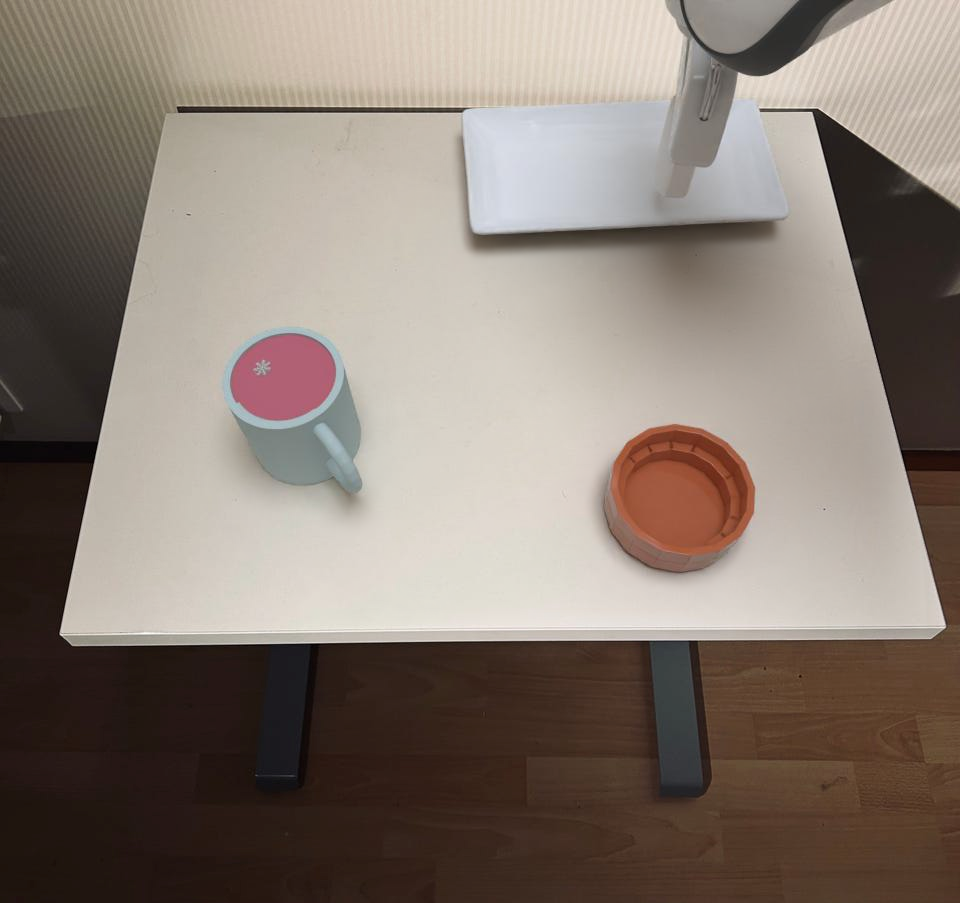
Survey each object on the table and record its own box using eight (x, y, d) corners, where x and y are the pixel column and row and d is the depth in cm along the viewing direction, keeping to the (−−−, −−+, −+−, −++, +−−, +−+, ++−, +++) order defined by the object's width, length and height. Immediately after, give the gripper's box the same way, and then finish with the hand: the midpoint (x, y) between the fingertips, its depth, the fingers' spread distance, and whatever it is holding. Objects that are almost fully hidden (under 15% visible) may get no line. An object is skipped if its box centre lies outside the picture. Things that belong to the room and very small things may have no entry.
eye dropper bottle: (703, 168, 77) (739, 57, 66) (680, 206, 75) (714, 97, 64) (661, 152, 78) (690, 40, 67) (638, 189, 76) (664, 79, 65)
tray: (782, 240, 80) (795, 215, 77) (469, 255, 79) (469, 230, 76) (746, 121, 88) (756, 94, 84) (460, 133, 87) (460, 106, 83)
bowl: (741, 462, 69) (757, 438, 65) (734, 585, 64) (751, 567, 60) (612, 439, 70) (620, 414, 66) (595, 559, 65) (602, 539, 61)
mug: (235, 428, 70) (200, 366, 61) (324, 374, 73) (303, 307, 64) (318, 546, 65) (293, 497, 56) (411, 483, 68) (401, 427, 59)
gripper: (765, 79, 54) (712, 223, 67) (775, -92, 63) (727, 62, 76) (672, 67, 55) (637, 212, 67) (695, -102, 64) (660, 53, 76)
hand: (684, 131), depth 72 cm, fingers closed on eye dropper bottle, 5 cm apart
